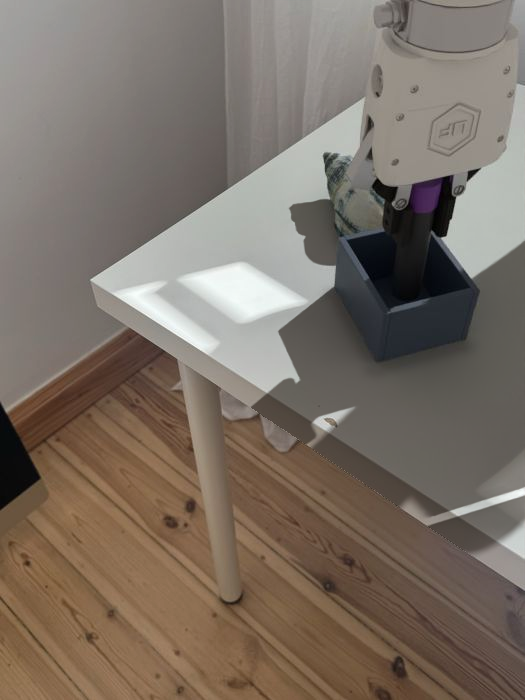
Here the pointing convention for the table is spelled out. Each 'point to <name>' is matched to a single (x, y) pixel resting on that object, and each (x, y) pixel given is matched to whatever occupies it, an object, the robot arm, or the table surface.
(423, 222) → the marker
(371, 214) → the seashell
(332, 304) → the table surface
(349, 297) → the bin
